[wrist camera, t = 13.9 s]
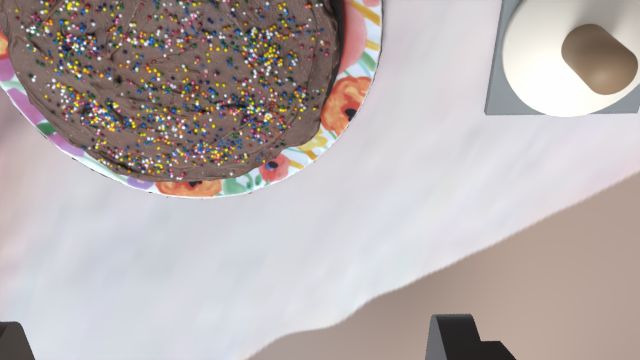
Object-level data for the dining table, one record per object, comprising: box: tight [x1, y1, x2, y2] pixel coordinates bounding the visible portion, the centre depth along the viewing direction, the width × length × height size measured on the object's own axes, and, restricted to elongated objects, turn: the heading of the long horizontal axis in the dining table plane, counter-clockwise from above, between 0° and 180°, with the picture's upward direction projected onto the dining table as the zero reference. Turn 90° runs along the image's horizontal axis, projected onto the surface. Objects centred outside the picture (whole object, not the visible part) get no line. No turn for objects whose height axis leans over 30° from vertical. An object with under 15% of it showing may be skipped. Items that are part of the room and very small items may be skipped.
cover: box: [501, 0, 640, 117], centre depth 41 cm, size 11×11×6 cm
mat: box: [484, 0, 640, 115], centre depth 43 cm, size 12×12×1 cm
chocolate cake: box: [0, 0, 383, 199], centre depth 40 cm, size 28×28×7 cm
